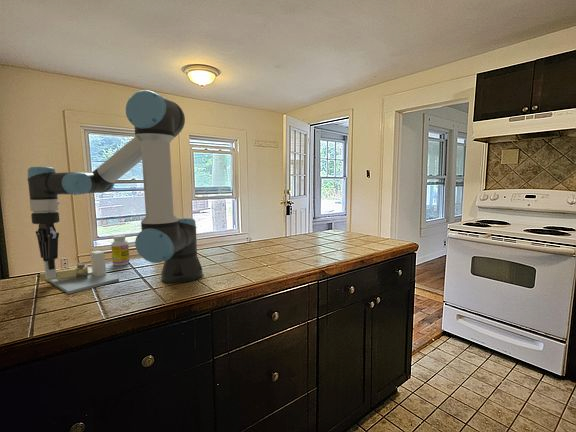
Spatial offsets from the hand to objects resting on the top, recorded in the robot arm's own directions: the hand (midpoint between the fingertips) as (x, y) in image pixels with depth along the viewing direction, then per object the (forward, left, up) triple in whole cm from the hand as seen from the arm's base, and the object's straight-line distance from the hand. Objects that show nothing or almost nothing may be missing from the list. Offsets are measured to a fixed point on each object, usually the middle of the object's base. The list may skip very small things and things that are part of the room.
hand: (51, 278), depth 106 cm
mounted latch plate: (0, -9, -3) cm, 10 cm away
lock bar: (+1, -4, -1) cm, 5 cm away
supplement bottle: (+10, -28, -3) cm, 30 cm away
